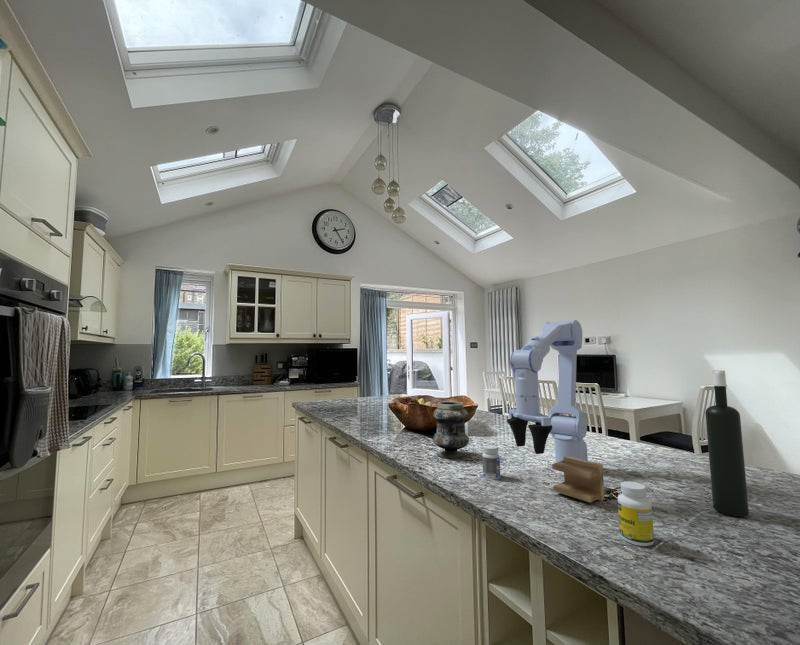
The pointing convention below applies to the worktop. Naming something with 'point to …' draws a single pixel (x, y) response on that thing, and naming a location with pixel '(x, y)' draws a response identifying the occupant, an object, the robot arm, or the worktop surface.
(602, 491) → the tan notched block
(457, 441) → the dark grey vase
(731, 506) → the wine bottle
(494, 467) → the pill bottle
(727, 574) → the worktop surface
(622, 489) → the supplement bottle
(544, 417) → the robot arm
